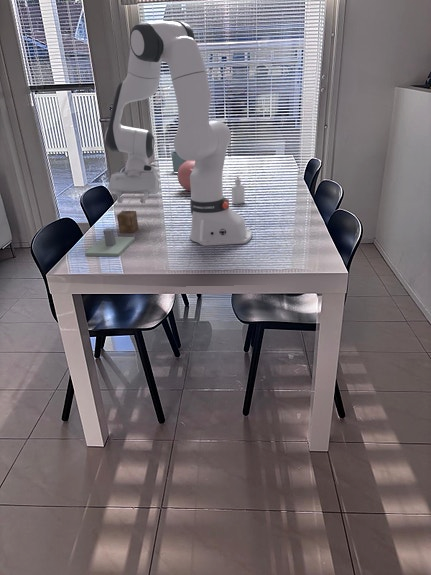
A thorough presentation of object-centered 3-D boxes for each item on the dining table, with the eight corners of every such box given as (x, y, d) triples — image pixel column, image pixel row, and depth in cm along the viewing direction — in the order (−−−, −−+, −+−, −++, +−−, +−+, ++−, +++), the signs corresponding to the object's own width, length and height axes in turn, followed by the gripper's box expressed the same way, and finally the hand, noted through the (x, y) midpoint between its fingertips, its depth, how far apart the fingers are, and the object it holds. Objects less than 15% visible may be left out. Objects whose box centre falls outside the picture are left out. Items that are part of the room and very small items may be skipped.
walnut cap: (138, 228, 168) (135, 210, 165) (133, 232, 163) (131, 215, 160) (124, 228, 169) (122, 210, 166) (119, 232, 164) (116, 215, 161)
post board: (135, 239, 157) (132, 222, 154) (119, 256, 143) (116, 237, 140) (104, 239, 159) (101, 222, 156) (85, 255, 145) (81, 237, 142)
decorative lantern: (179, 198, 206) (176, 165, 200) (178, 188, 224) (175, 158, 217) (211, 196, 207) (209, 163, 201) (207, 186, 225) (206, 156, 218)
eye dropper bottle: (232, 201, 196) (231, 175, 191) (244, 201, 196) (244, 175, 190) (231, 204, 192) (230, 177, 187) (244, 204, 192) (243, 177, 186)
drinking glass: (174, 170, 267) (173, 150, 262) (190, 170, 266) (189, 150, 261) (171, 174, 258) (169, 153, 253) (187, 173, 257) (185, 153, 252)
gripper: (108, 167, 170) (102, 198, 166) (157, 167, 167) (153, 198, 163) (114, 176, 176) (109, 206, 172) (162, 176, 173) (157, 206, 169)
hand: (131, 202), depth 167 cm, fingers open, 8 cm apart
